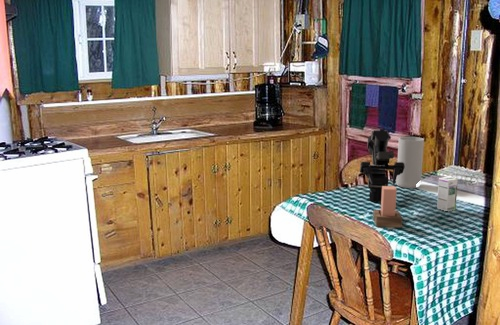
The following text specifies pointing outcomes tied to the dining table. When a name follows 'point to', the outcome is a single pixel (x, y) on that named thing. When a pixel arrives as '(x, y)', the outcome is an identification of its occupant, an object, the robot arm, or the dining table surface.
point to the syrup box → (447, 193)
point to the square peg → (388, 201)
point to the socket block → (387, 219)
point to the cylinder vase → (410, 161)
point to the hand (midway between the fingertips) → (383, 184)
